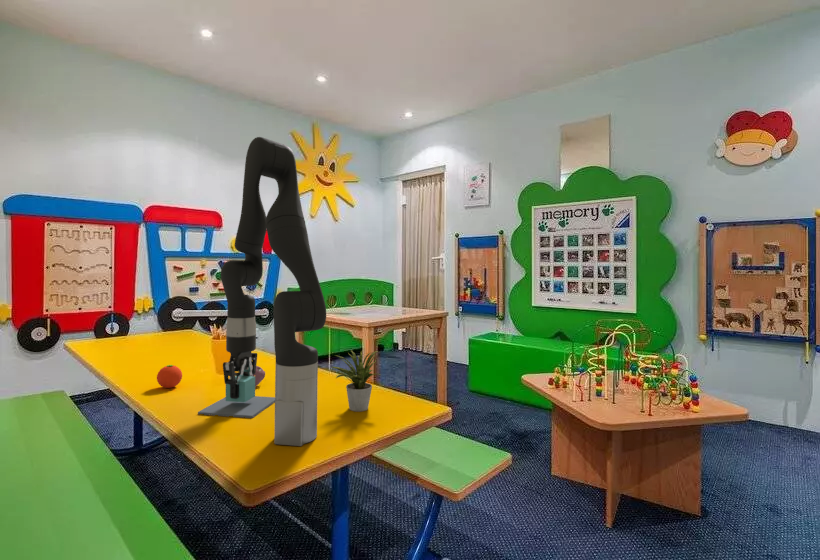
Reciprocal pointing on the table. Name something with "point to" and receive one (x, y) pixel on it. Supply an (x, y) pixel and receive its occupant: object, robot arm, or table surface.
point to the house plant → (358, 382)
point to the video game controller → (259, 375)
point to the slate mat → (239, 407)
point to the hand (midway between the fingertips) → (240, 394)
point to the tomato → (169, 376)
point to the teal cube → (243, 389)
